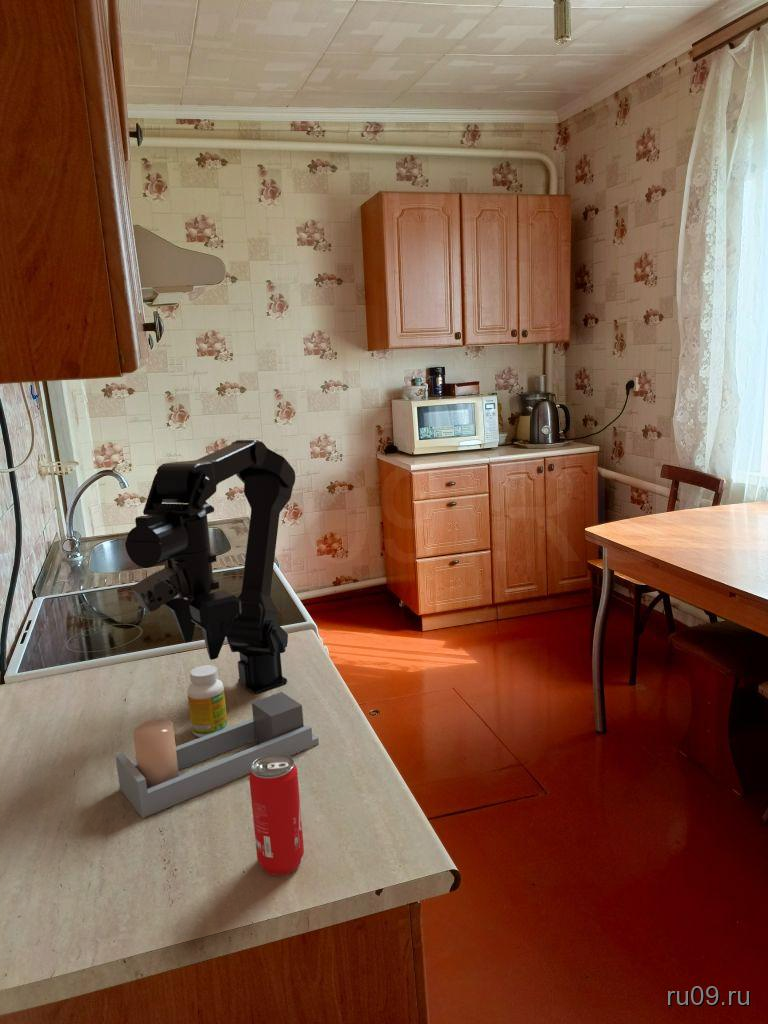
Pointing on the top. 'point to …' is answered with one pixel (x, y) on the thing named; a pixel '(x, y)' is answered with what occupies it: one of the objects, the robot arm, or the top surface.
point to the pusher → (276, 717)
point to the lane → (210, 774)
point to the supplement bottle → (206, 701)
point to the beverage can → (276, 813)
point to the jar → (156, 751)
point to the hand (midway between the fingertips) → (200, 650)
